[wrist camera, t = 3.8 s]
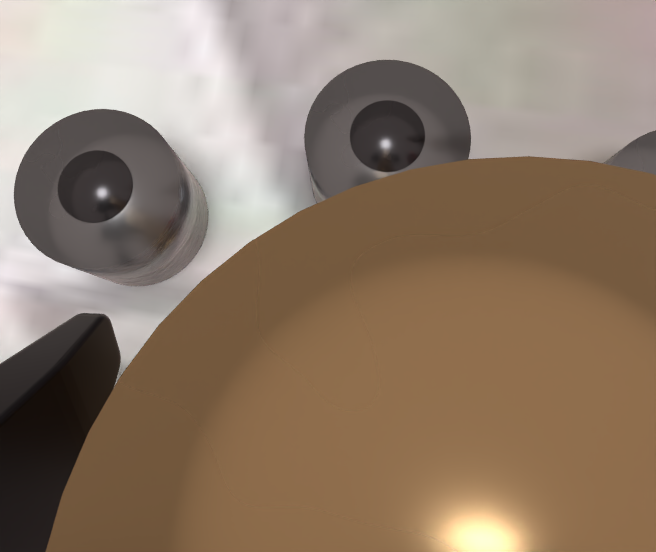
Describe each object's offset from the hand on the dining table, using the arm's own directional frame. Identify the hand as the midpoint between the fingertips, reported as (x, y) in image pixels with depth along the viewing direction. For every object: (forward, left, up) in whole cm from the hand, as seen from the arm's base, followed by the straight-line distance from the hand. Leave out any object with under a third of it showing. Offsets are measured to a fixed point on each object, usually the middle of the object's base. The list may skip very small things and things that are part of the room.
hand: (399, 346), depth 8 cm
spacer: (+6, +5, -7) cm, 11 cm away
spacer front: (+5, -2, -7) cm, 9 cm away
